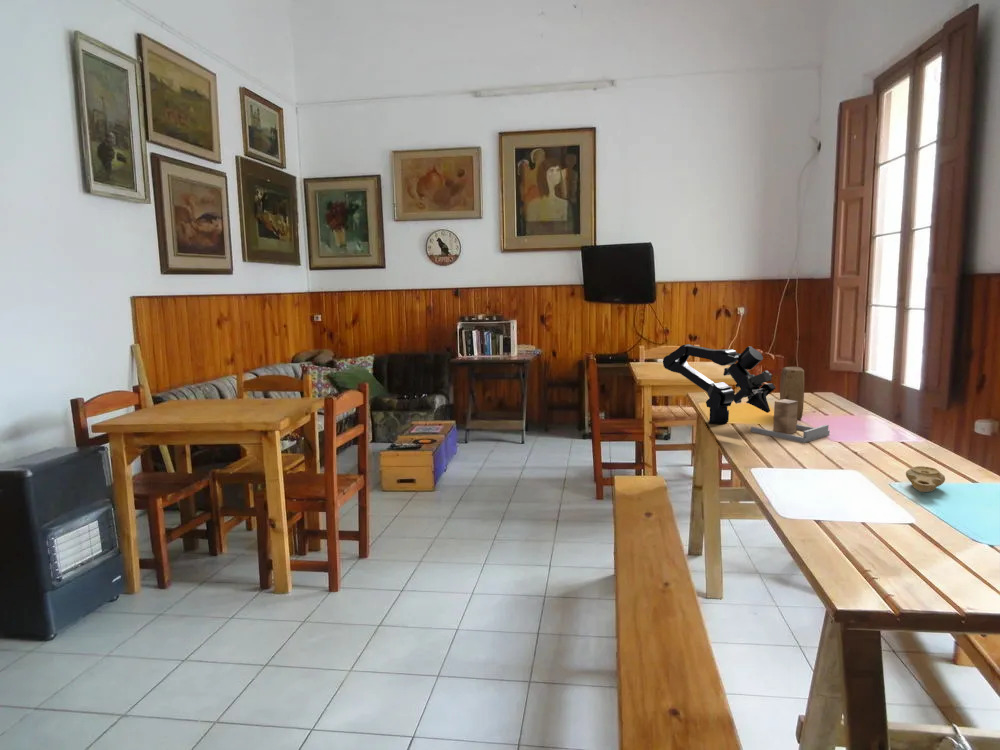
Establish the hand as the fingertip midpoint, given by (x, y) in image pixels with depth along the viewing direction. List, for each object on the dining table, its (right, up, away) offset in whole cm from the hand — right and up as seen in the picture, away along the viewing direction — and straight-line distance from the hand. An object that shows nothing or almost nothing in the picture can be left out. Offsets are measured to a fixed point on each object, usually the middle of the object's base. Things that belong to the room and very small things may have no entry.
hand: (768, 411), depth 224 cm
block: (+18, -4, +23) cm, 30 cm away
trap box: (+5, -8, -5) cm, 11 cm away
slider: (+4, -7, -4) cm, 9 cm away
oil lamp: (+16, -17, -59) cm, 63 cm away
